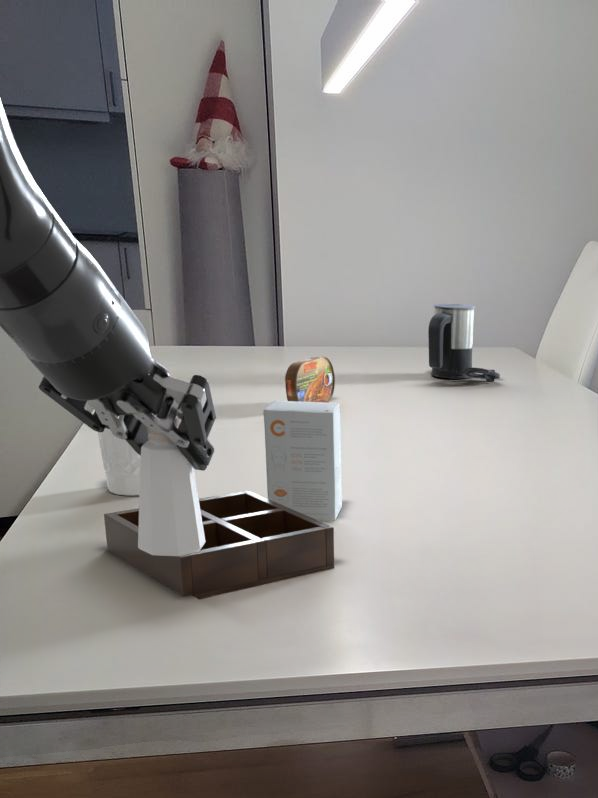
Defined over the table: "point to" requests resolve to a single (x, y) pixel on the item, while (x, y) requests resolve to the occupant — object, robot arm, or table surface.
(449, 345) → the milk frother
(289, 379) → the tin
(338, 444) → the small box
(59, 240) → the robot arm
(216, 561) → the divided wooden tray
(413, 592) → the table surface
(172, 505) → the salt shaker
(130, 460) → the white cup
